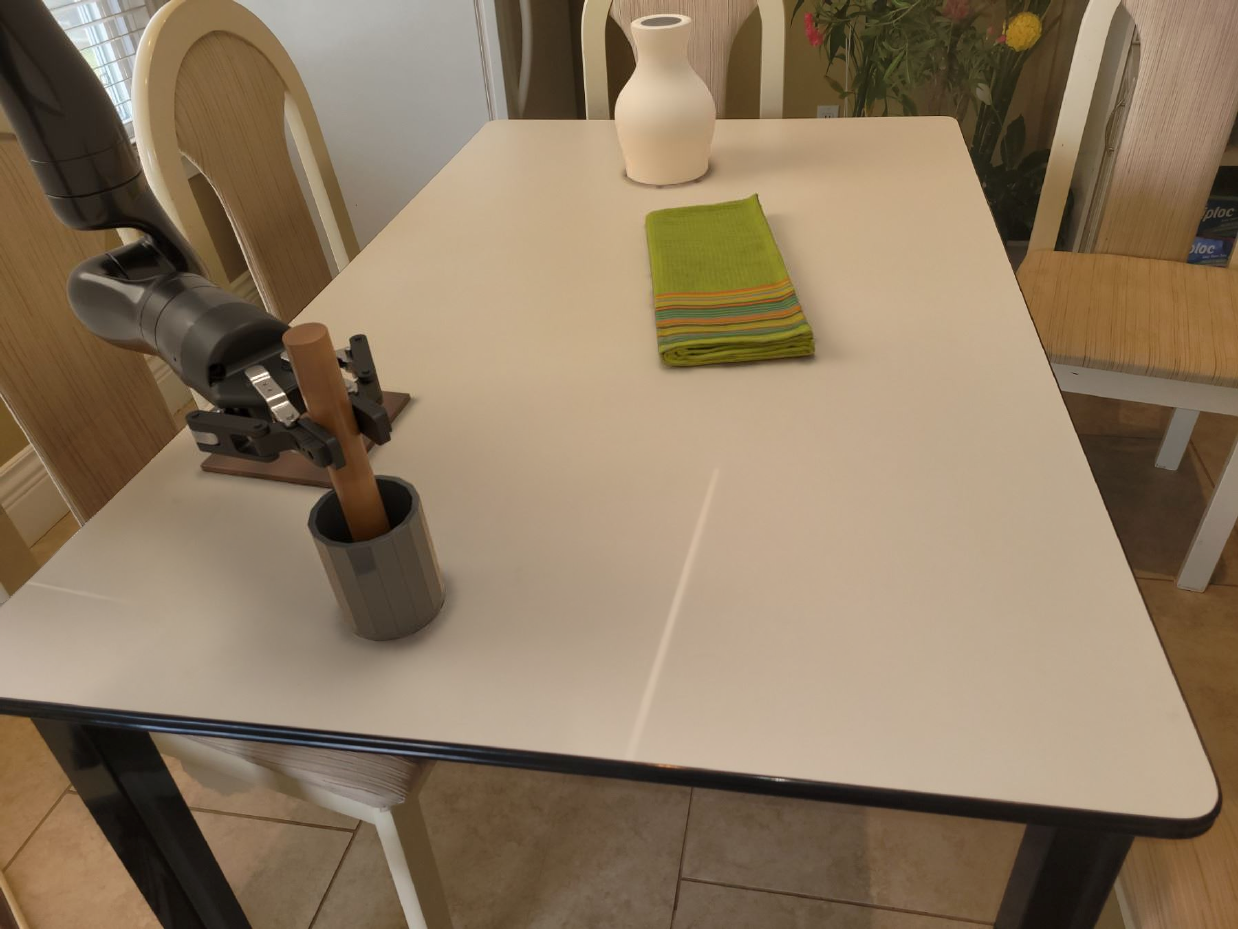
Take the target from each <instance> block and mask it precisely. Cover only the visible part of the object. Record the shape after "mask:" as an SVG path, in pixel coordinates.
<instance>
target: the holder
mask: <svg viewBox="0 0 1238 929" xmlns="http://www.w3.org/2000/svg"><path fill="white" fill-rule="evenodd" d="M374 477H375V480H376V483H377V487H378V490H379V493H380V496H381V499H382V502H383V506H384V509H385V512H386V515H387V518H388V521H389V525H390V528H391V531H390V532H389V533H387V534H385V535H382V536H380V537H377V538H374V539H372V540H369V541H363V542H356V543H354V541H353V538H352V535H351V532H350V530H349V527H348V524H347V521H346V518H345V516H344V513H343V510H342V507H341V504H340V501H339V499H338V496H337V493H336V490H335V488H331V489H330V490H329V491H327V492H325V493H324V494H323V495H322V496H321V497H319V499H318V500H317V501H316V503H315V504H314V505H313V506H312V508H310V511H309V516H308V520H307V523H306V524H307V528H308V531H309V534H310V536H311V538H312V541H313V544H314V546H315V549H316V551H317V554H318V556H319V559H320V561H321V564H322V566H323V569H324V572H325V575H326V576H327V579H328V582H329V584H330V587H331V590H332V592H333V594H334V597H335V599H336V603H337V605H338V607H339V610H340V613H341V615H342V617H343V620H344V622H345V625H346V626H347V627H348V628H349V630H350V631H352V632H353V633H354V634H356V635H357V636H359V637H362V638H364V639H368V640H374V641H387V640H388V641H389V640H396V639H399V638H402V637H406V636H407V635H411V634H413V633H415V632H417V631H419V630H421V629H422V628H423V627H425V626H426V625H427V624H428V623H430V622H431V620H433V619H434V618H435V617H436V615H437V614H438V613H439V611H440V610H441V608H442V606H443V603H444V600H445V595H446V592H445V591H446V590H445V586H444V578H443V574H442V571H441V568H440V565H439V561H438V556H437V553H436V550H435V546H434V542H433V538H432V535H431V531H430V528H429V524H428V521H427V517H426V514H425V510H424V506H423V503H422V500H421V495H420V494H419V493H418V491H417V489H416V488H415V486H414V484H413V483H411V482H409V481H407V480H405V479H403V478H401V477H400V476H393V475H387V474H374Z"/></svg>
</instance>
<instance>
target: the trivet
mask: <svg viewBox="0 0 1238 929" xmlns="http://www.w3.org/2000/svg"><path fill="white" fill-rule="evenodd" d="M381 391H382V395H383V399H384V402H383V404H381V406H383V407H384V408H385V409H386V411H387V414H388V417H389V421H390V424H392V422H394V420H395V418H397V416H398V415H399V413H400V412H401V411H402V410H403V408H404V407H405V406H406V405H407V404H408V402H409V401H410V400H411V395H410V393H408V392H399V391H387V390H381ZM306 416H308V417H309V414H308V412H306V413H304V414H303V415H301V416H300V417H301V419H302V418H304V417H306ZM309 418H310V417H309ZM361 436H362V439H363V442H364V445H365V448H366V452H367V453H368V452H369V451H370V450H372V449H371V448H372V447H373V446H374V445H375V444H376V443H375V442H373V441H372V440H370V439H369V438H368V437H366V436H365V435H363V434H362V433H361ZM247 438H248V439H249V440H250V441H252V438H251V437H248V436H247ZM252 442H253V441H252ZM279 453H280V457H279V458H278V459H277V460H275V461H273V462H270V463H263V462H258V461H252V460H246V459H241V458H235V457H230V456H224V455H218V454H213V453H210V454H209V455H208V457H207V458H205V460H203V461H202V462H201V463H200V464H199V467H200V469H201V471H205V472H214V473H221V474H228V475H236V476H241V477H250V478H257V479H265V480H271V481H272V480H273V481H279V482H280V481H281V482H285V483H286V482H287V483H293V484H302V485H307V486H309V485H310V486H316V487H324V488H331V489H333V488H335V487H334V484H333V482H332V479H331V476H330V473H329V470H328V468H327V467H326V468H321V467H317V466H316V465H314V464H313V463H312V462H310V461H309V460H308V459H307V458H305V457H304V456H303V455H301V454H300V453H293V452H292V451H291V450H286V451H282V452H279Z"/></svg>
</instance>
